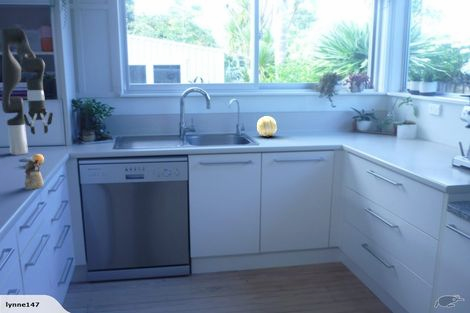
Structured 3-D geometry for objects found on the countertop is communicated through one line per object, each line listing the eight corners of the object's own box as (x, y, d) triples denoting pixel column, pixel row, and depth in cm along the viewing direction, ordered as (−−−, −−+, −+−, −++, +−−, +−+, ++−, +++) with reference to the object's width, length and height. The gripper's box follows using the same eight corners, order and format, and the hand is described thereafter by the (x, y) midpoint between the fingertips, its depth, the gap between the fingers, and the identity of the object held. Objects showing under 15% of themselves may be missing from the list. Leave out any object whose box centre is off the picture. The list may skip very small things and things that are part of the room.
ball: (30, 164, 222) (29, 154, 220) (40, 162, 226) (39, 152, 225) (36, 165, 219) (35, 155, 217) (46, 163, 223) (45, 153, 222)
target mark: (15, 159, 233) (15, 159, 233) (36, 156, 243) (36, 155, 243) (27, 162, 227) (27, 162, 226) (48, 158, 236) (48, 158, 236)
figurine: (29, 184, 183) (26, 157, 180) (46, 184, 183) (43, 157, 181) (22, 189, 176) (19, 161, 173) (39, 189, 176) (36, 161, 174)
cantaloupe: (271, 138, 299) (271, 117, 296) (253, 137, 307) (253, 116, 304) (280, 135, 312) (280, 115, 309) (262, 134, 319) (262, 114, 316)
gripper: (21, 100, 201) (25, 136, 204) (53, 99, 209) (56, 133, 213) (18, 99, 207) (22, 134, 210) (49, 98, 215) (52, 131, 218)
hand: (39, 133), depth 211 cm, fingers open, 5 cm apart
